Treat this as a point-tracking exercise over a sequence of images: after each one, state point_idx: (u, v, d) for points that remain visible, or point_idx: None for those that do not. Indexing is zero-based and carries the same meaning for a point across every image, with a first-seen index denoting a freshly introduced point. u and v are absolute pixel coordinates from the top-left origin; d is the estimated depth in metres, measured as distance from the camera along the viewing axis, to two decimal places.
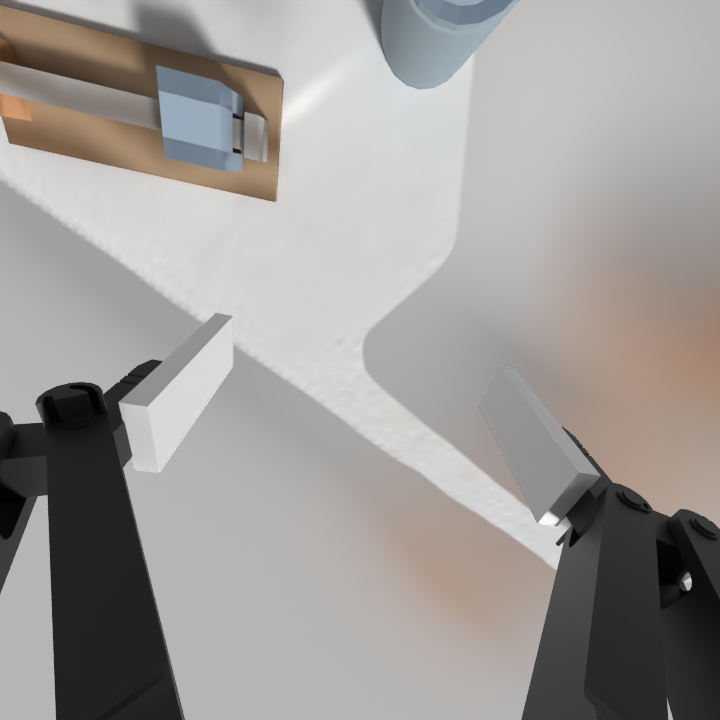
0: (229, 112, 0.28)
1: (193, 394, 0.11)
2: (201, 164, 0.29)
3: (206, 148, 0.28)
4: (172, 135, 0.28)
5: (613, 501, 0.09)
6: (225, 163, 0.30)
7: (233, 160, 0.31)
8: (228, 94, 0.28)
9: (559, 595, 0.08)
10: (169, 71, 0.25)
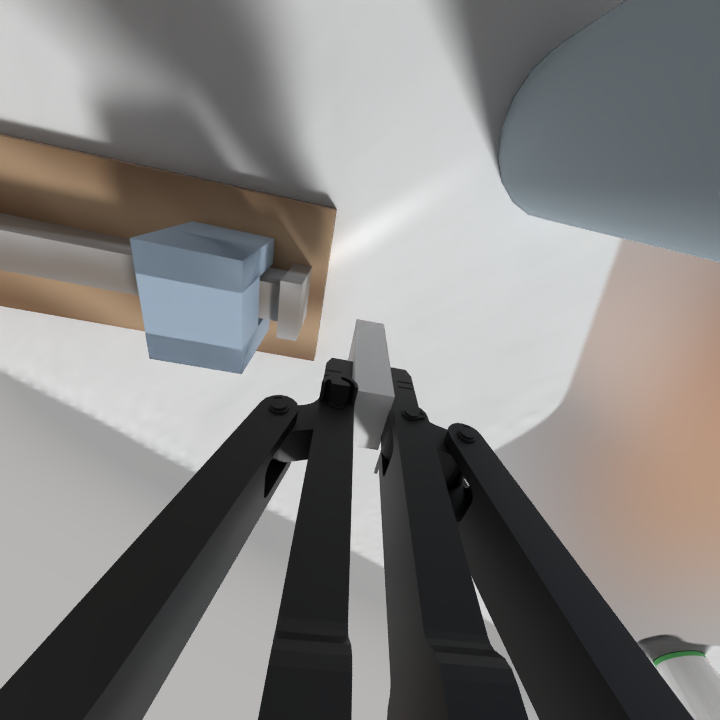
0: (255, 282, 0.17)
1: None
2: (209, 366, 0.17)
3: (218, 347, 0.17)
4: (162, 332, 0.16)
5: (401, 423, 0.10)
6: (248, 354, 0.18)
7: (258, 334, 0.20)
8: (255, 261, 0.16)
9: (387, 528, 0.09)
10: (153, 247, 0.14)
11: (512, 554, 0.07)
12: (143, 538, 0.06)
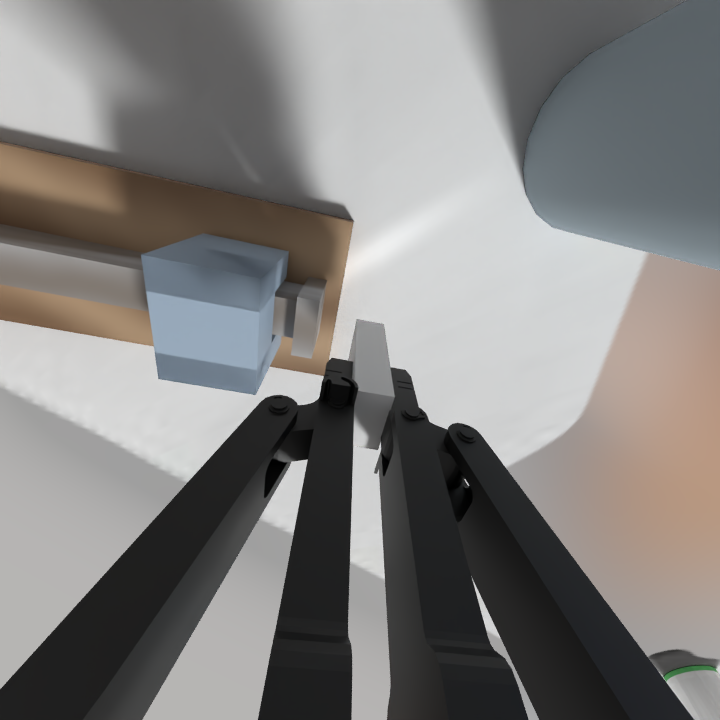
0: (271, 299, 0.16)
1: None
2: (222, 387, 0.17)
3: (231, 368, 0.16)
4: (172, 351, 0.15)
5: (401, 423, 0.10)
6: (262, 373, 0.17)
7: (271, 351, 0.19)
8: (271, 276, 0.16)
9: (387, 528, 0.09)
10: (166, 264, 0.13)
11: (512, 554, 0.07)
12: (143, 538, 0.06)
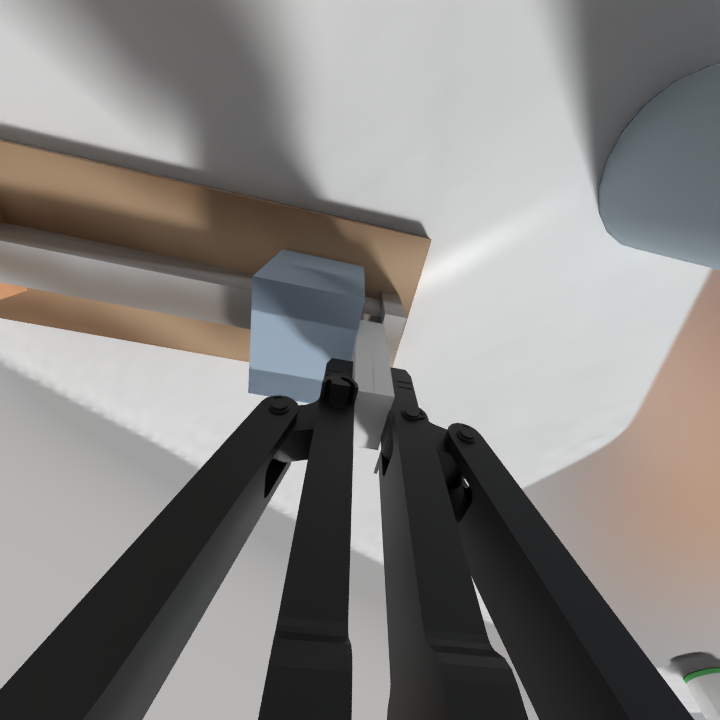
0: None
1: None
2: (309, 401, 0.17)
3: (321, 383, 0.16)
4: (266, 367, 0.16)
5: (401, 423, 0.10)
6: None
7: None
8: None
9: (387, 528, 0.09)
10: (276, 285, 0.14)
11: (512, 554, 0.07)
12: (143, 538, 0.06)
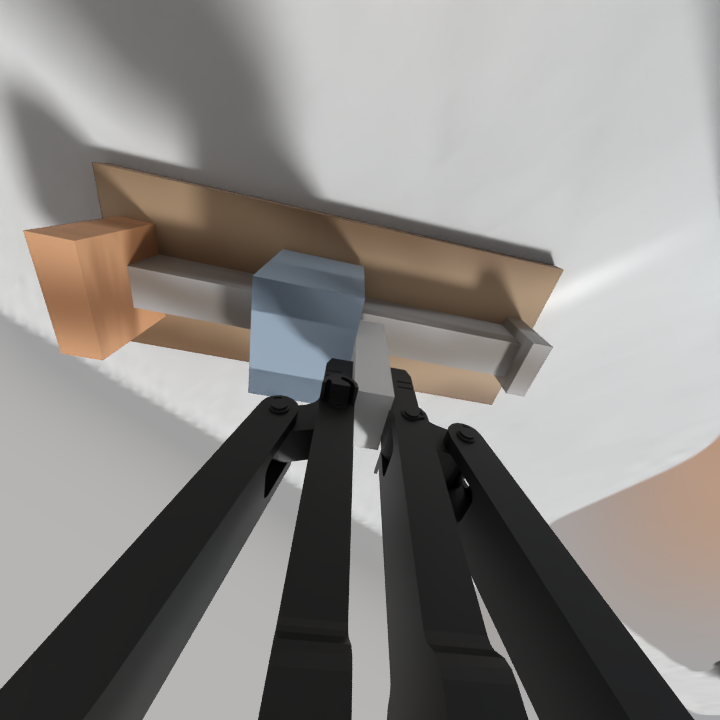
0: None
1: None
2: (309, 400, 0.17)
3: (321, 382, 0.16)
4: (266, 367, 0.16)
5: (401, 423, 0.10)
6: None
7: None
8: None
9: (387, 528, 0.09)
10: (276, 284, 0.14)
11: (512, 554, 0.07)
12: (143, 538, 0.06)
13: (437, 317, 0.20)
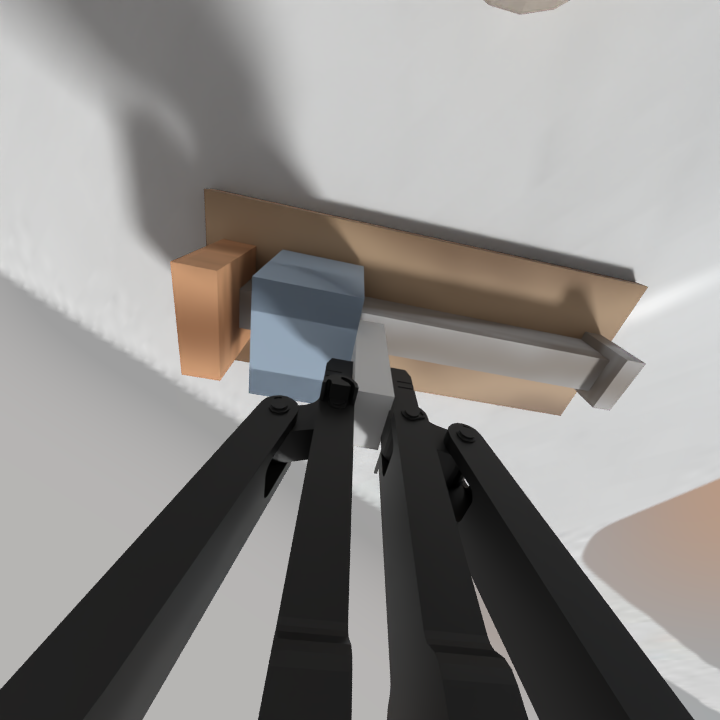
0: None
1: None
2: (309, 401, 0.17)
3: (321, 382, 0.16)
4: (266, 367, 0.16)
5: (401, 423, 0.10)
6: None
7: None
8: None
9: (387, 528, 0.09)
10: (275, 285, 0.14)
11: (512, 554, 0.07)
12: (143, 538, 0.06)
13: (523, 333, 0.21)
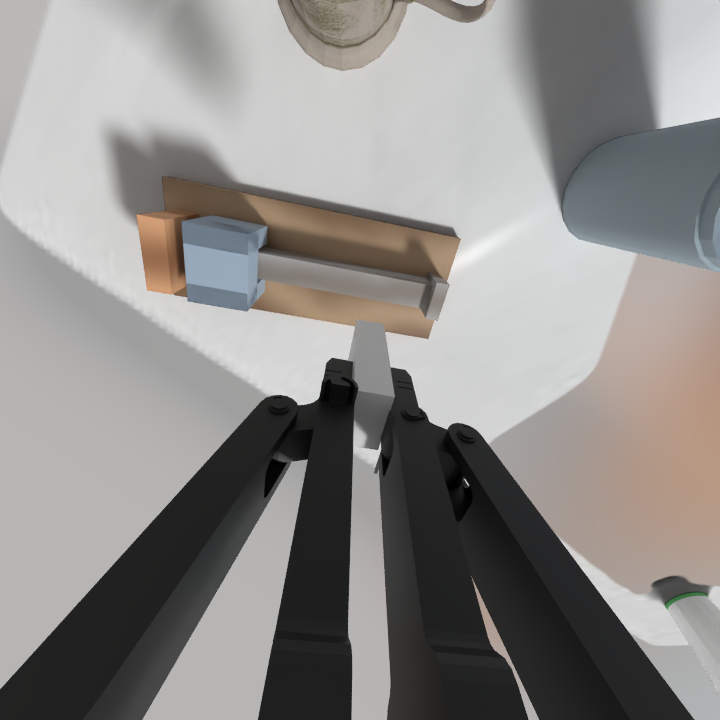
0: (255, 252, 0.27)
1: None
2: (226, 306, 0.27)
3: (232, 292, 0.26)
4: (197, 282, 0.26)
5: (401, 423, 0.10)
6: (251, 300, 0.28)
7: (257, 290, 0.30)
8: (255, 237, 0.26)
9: (387, 528, 0.09)
10: (195, 226, 0.24)
11: (512, 554, 0.07)
12: (143, 538, 0.06)
13: (380, 271, 0.31)
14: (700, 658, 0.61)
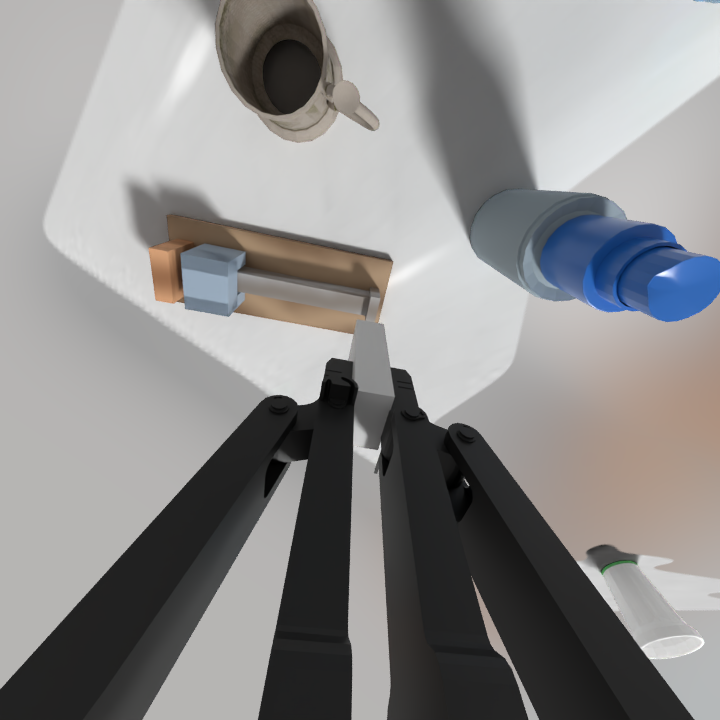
0: (235, 273, 0.37)
1: None
2: (213, 312, 0.37)
3: (217, 303, 0.36)
4: (191, 295, 0.36)
5: (401, 423, 0.10)
6: (232, 308, 0.38)
7: (237, 300, 0.39)
8: (234, 262, 0.36)
9: (387, 528, 0.09)
10: (190, 257, 0.34)
11: (512, 554, 0.07)
12: (143, 538, 0.06)
13: (332, 286, 0.40)
14: (623, 614, 0.72)
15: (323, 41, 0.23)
